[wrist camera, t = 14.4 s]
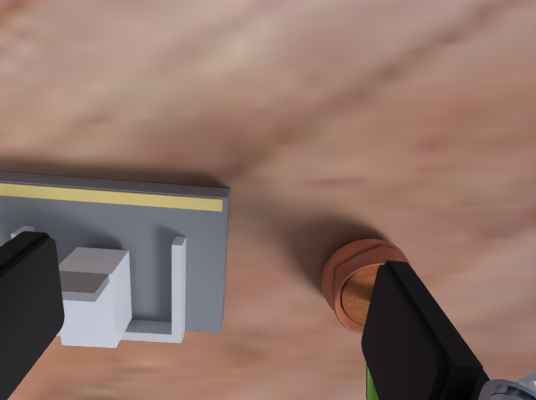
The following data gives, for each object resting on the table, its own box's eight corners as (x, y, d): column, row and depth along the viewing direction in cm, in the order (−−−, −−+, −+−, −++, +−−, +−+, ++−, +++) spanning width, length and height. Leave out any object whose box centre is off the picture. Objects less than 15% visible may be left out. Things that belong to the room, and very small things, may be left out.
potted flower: (353, 203, 39) (492, 400, 16) (431, 238, 41) (665, 465, 17) (304, 290, 43) (357, 559, 19) (377, 319, 44) (510, 601, 21)
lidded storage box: (82, 242, 37) (32, 289, 29) (132, 245, 37) (96, 293, 29) (88, 309, 40) (44, 369, 31) (134, 312, 40) (103, 372, 32)
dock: (-5, 170, 37) (-43, 185, 33) (230, 188, 38) (226, 204, 34) (17, 303, 43) (-13, 332, 38) (223, 315, 44) (218, 345, 39)
